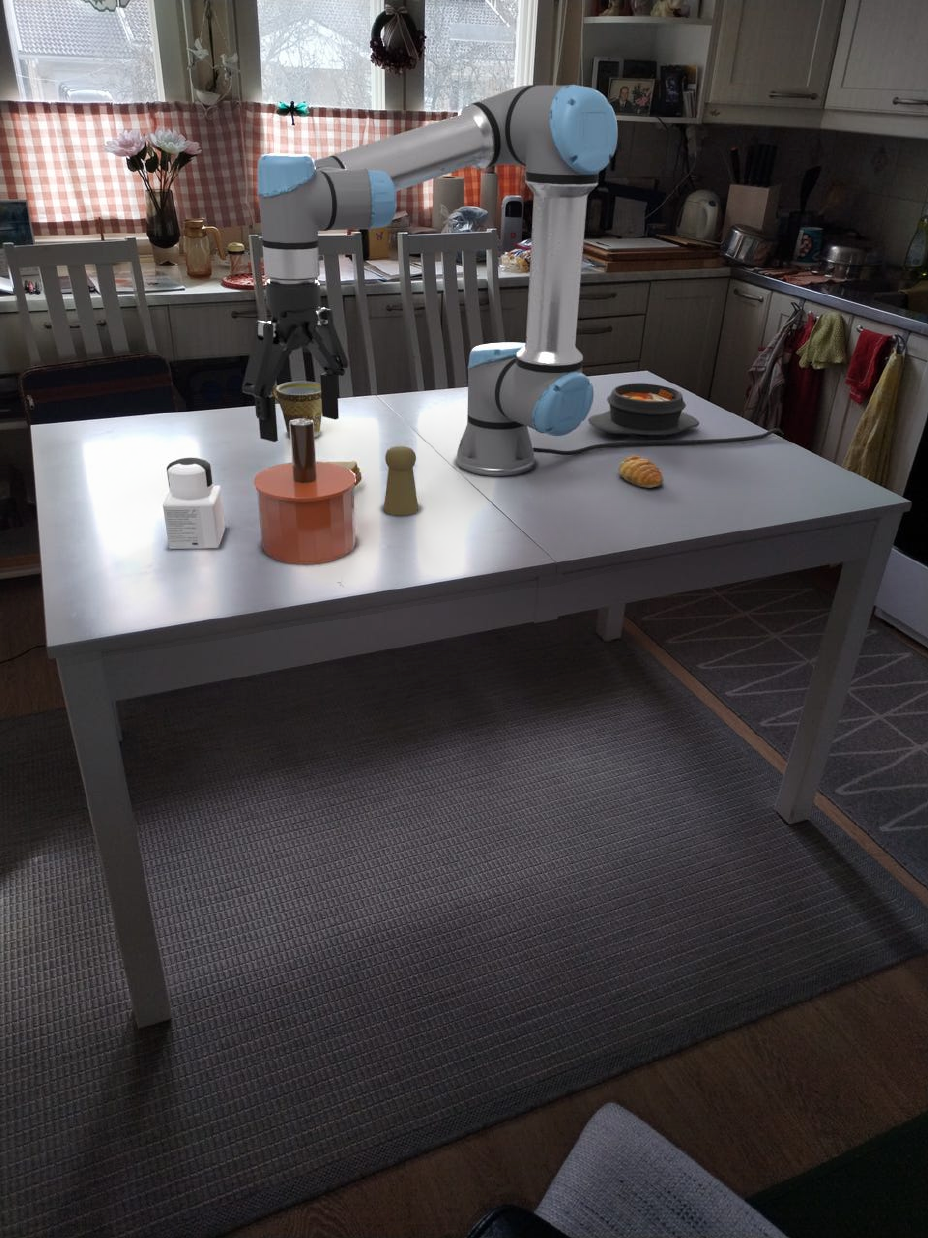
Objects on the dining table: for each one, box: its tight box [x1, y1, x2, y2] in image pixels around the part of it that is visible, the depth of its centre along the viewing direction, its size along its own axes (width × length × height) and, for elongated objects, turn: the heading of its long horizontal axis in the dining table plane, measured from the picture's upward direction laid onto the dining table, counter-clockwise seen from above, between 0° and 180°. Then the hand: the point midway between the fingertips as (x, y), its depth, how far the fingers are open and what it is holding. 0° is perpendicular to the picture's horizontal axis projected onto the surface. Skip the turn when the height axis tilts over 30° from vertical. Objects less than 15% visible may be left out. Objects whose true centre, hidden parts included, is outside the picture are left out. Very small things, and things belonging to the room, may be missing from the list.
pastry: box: [618, 455, 664, 489], centre depth 174 cm, size 9×7×4 cm
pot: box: [256, 487, 357, 565], centre depth 145 cm, size 15×15×10 cm
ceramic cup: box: [271, 380, 323, 438], centre depth 192 cm, size 13×10×10 cm
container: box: [162, 457, 226, 550], centre depth 144 cm, size 8×8×13 cm
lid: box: [252, 418, 356, 502], centre depth 140 cm, size 16×16×10 cm
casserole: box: [587, 382, 700, 438], centre depth 201 cm, size 25×19×8 cm
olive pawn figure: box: [383, 445, 419, 517], centre depth 158 cm, size 6×6×11 cm
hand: (300, 428), depth 138 cm, fingers open, 13 cm apart
